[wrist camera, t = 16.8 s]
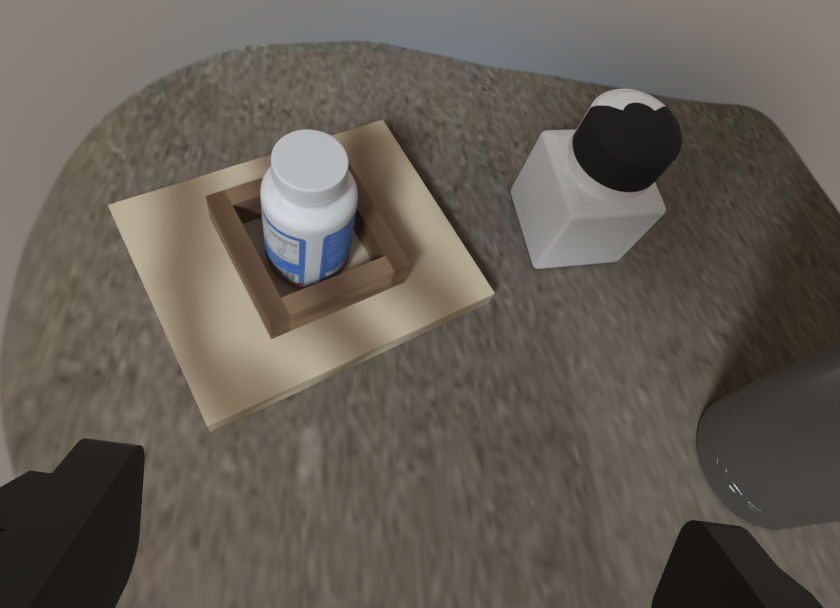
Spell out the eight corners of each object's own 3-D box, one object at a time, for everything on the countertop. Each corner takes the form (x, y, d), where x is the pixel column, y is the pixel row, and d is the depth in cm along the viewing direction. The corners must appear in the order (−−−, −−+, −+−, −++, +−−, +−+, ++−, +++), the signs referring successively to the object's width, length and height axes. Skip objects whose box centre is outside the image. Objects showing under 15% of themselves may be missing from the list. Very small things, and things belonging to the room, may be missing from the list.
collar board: (380, 133, 48) (387, 95, 45) (488, 302, 44) (506, 276, 40) (113, 218, 41) (97, 181, 37) (210, 433, 36) (202, 414, 33)
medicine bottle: (618, 263, 47) (715, 164, 37) (532, 271, 45) (608, 169, 35) (590, 185, 50) (672, 73, 39) (508, 190, 48) (571, 73, 38)
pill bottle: (342, 215, 42) (357, 116, 34) (354, 285, 40) (373, 199, 32) (259, 221, 41) (253, 119, 32) (268, 294, 39) (263, 205, 30)
